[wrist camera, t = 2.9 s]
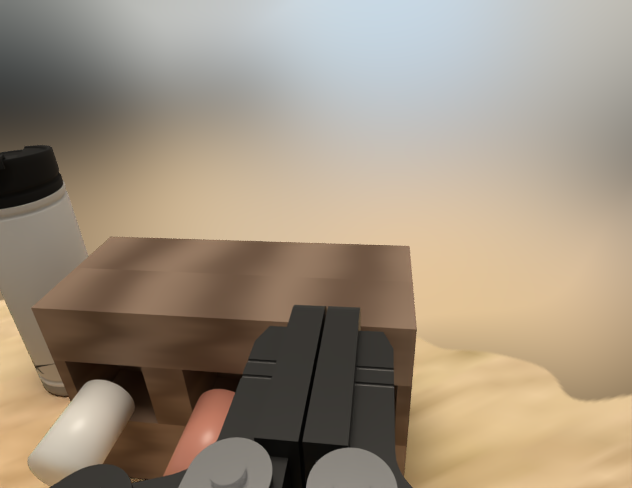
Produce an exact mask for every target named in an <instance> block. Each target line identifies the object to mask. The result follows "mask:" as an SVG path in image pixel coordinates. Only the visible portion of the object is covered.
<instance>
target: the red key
mask: <svg viewBox="0 0 632 488" xmlns="http://www.w3.org/2000/svg"><path fill="white" fill-rule="evenodd" d="M234 395H235V392H232V391H229V390H225V389H213V390H209V391H206V392H204V393H203V394H202V395H201V396H200V397H199V399H198V401H197V403H196V405H195V408H194V410H193V412H192V414H191V416H190V419H189V421H188V423H187V425H186V427H185V429H184V432H183V434H182V436H181V438H180V440H179V442H178V445H177V447H176V449H175V451H174V453H173V455H172V458H171V460H170V462H169V464H168V466H167V468H166V471H165V473H164V475H163V476H167V475H171V474H175V473H178V472H181V471H183V470H185V469H187V468H188V467H189V466H190V464H191V462H192V461H193V460H194V458H195V457H196V456H197V455H198V454H199V453H200V452H201V451H202V450H203V449H205V448H206V447H208V446H209V445H211V444H213V443H215V442H216V441H217V439H218V437H219V434H220V432H221V429H222V426H223V424H224V421H225V418H226V416H227V413H228V411H229V408H230V405H231V403H232V400H233V397H234Z"/></svg>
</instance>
